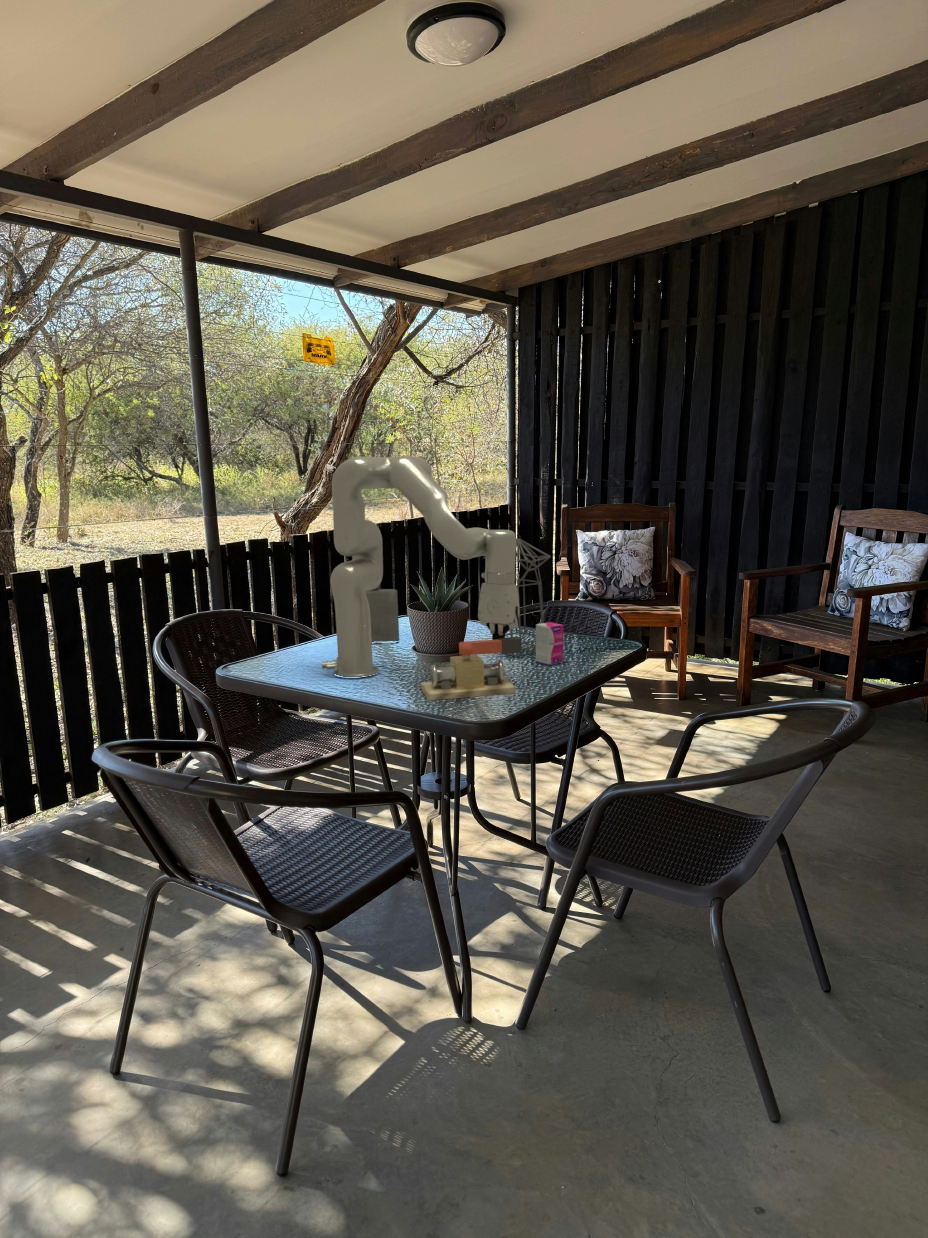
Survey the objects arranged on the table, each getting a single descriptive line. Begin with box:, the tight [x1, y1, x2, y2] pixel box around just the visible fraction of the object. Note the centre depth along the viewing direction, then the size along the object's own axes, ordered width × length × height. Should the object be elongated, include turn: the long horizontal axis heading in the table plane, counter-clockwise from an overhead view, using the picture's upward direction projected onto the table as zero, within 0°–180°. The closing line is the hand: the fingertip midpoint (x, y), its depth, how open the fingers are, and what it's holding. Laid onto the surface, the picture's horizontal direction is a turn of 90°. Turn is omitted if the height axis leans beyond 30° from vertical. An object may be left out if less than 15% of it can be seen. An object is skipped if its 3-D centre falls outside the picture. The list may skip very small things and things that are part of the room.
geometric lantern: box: [482, 537, 552, 658], centre depth 241 cm, size 16×16×35 cm
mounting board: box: [420, 676, 517, 701], centre depth 204 cm, size 22×12×2 cm, turn 102°
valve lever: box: [458, 636, 523, 659], centre depth 203 cm, size 16×4×4 cm, turn 101°
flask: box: [365, 585, 400, 642], centre depth 265 cm, size 15×6×20 cm, turn 96°
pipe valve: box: [429, 654, 505, 690], centre depth 203 cm, size 18×8×8 cm, turn 102°
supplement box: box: [535, 621, 564, 667], centre depth 230 cm, size 6×6×12 cm
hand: (498, 648), depth 208 cm, fingers closed
